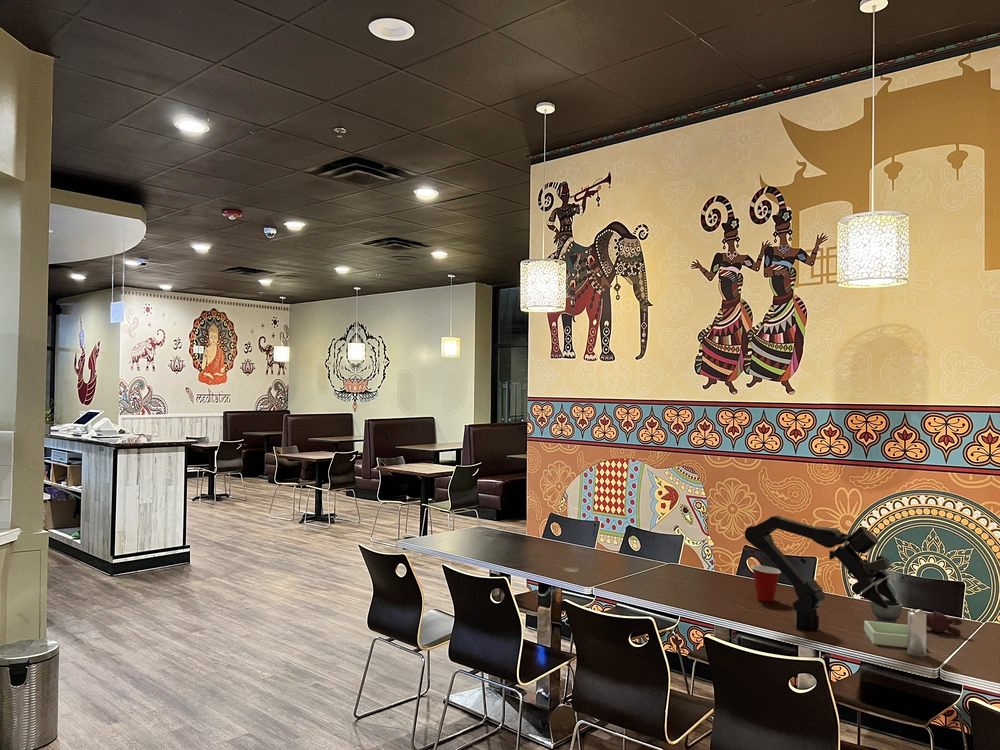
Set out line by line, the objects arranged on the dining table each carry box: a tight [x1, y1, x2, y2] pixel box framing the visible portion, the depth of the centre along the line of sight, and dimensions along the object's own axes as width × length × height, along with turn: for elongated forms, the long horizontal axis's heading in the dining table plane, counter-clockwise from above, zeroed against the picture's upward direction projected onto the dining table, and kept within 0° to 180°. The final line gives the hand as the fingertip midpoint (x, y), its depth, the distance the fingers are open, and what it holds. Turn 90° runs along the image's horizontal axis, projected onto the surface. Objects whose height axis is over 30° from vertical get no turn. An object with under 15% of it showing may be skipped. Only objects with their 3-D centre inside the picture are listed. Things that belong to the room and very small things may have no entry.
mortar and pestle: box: [870, 598, 903, 624], centre depth 250 cm, size 11×9×12 cm
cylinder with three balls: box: [907, 608, 927, 658], centre depth 217 cm, size 5×5×13 cm
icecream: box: [924, 610, 963, 636], centre depth 241 cm, size 7×7×15 cm
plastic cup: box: [751, 564, 782, 603], centre depth 275 cm, size 11×11×12 cm
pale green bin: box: [863, 620, 908, 649], centre depth 230 cm, size 14×14×4 cm
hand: (891, 605), depth 223 cm, fingers open, 9 cm apart
